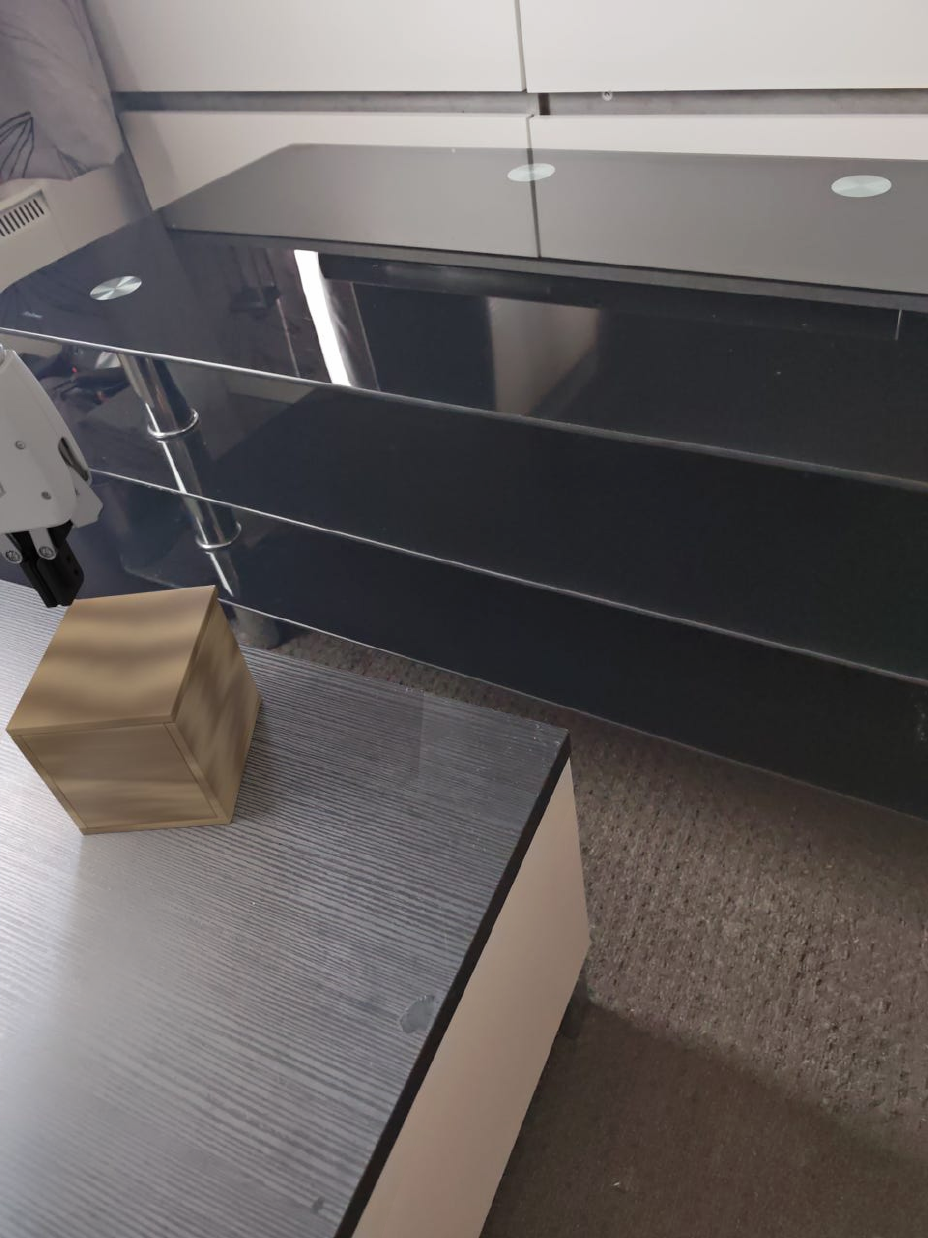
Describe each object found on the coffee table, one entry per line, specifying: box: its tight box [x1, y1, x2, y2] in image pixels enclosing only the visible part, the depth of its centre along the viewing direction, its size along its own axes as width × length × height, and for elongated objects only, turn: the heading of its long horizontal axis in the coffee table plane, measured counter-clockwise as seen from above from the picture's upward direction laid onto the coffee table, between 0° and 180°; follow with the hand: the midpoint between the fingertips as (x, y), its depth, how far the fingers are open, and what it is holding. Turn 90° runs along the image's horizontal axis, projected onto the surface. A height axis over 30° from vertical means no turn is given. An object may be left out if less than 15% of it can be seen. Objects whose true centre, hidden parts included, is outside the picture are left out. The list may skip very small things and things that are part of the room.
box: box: [10, 597, 263, 835], centre depth 75 cm, size 14×13×12 cm
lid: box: [4, 584, 219, 737], centre depth 71 cm, size 14×13×1 cm
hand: (66, 593), depth 64 cm, fingers closed
